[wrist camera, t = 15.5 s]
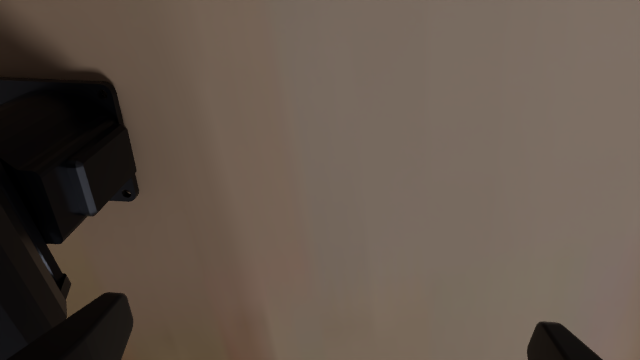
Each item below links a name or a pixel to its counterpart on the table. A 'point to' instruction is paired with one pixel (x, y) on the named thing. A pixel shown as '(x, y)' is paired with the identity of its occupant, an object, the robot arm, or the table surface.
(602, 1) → the table surface
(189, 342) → the table surface
